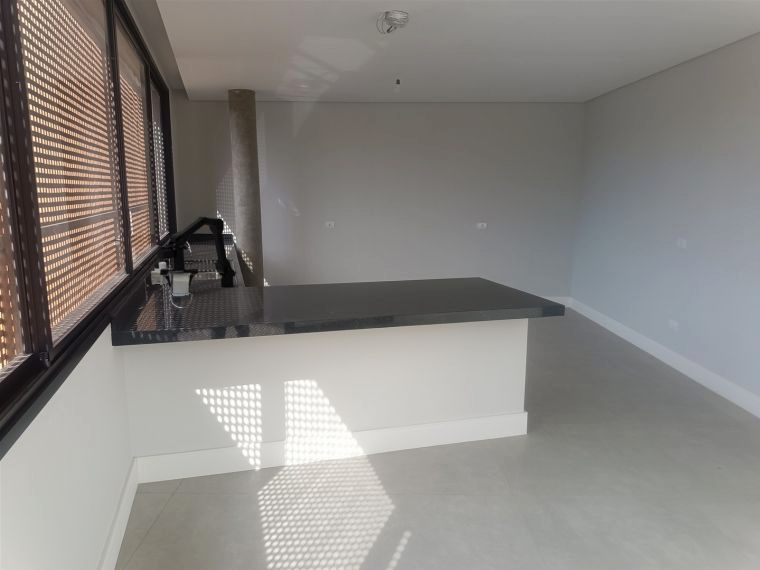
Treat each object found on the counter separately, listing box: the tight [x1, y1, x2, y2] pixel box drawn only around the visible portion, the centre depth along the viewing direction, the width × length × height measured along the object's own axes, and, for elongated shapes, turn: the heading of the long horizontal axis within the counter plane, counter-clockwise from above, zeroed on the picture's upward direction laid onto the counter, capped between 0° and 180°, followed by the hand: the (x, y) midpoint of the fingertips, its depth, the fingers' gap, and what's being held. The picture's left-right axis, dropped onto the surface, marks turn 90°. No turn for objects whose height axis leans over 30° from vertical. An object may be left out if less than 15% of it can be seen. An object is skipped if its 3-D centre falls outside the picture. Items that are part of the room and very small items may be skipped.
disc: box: [171, 291, 191, 297], centre depth 281 cm, size 10×10×1 cm
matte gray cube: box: [172, 273, 190, 294], centre depth 282 cm, size 8×8×9 cm
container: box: [150, 261, 172, 286], centre depth 311 cm, size 8×8×13 cm
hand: (180, 287), depth 280 cm, fingers open, 9 cm apart
